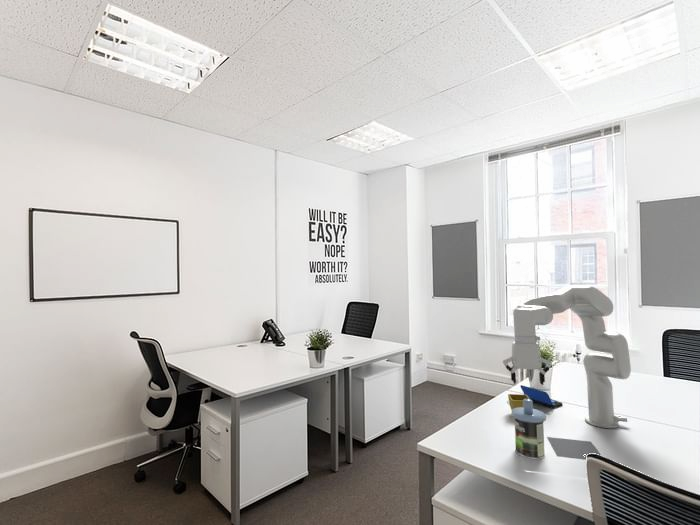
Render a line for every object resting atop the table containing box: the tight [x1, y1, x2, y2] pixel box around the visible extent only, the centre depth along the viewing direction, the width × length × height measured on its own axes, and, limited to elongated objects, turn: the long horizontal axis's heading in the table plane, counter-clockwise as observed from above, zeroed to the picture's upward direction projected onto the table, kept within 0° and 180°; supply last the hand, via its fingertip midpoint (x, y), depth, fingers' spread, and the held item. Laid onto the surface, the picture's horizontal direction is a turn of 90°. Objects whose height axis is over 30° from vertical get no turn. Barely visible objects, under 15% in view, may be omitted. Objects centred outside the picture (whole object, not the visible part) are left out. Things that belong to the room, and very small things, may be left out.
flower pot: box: [507, 393, 529, 411], centre depth 170 cm, size 9×9×9 cm
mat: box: [546, 436, 602, 460], centre depth 137 cm, size 16×16×1 cm
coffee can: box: [514, 418, 546, 460], centre depth 136 cm, size 10×10×14 cm
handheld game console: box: [519, 384, 563, 409], centre depth 186 cm, size 16×13×9 cm
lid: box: [511, 399, 547, 423], centre depth 136 cm, size 12×12×6 cm
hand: (527, 383), depth 137 cm, fingers open, 9 cm apart
